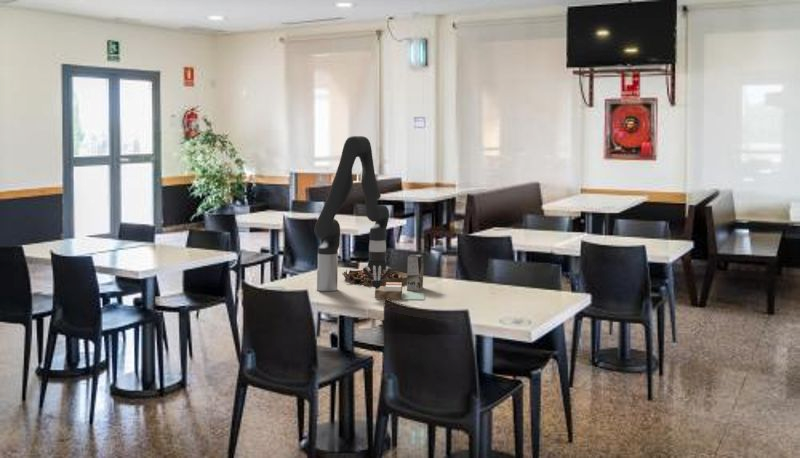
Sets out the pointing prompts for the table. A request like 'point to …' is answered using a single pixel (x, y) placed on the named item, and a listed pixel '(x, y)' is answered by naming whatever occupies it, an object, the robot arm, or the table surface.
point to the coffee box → (415, 272)
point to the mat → (413, 296)
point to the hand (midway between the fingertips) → (377, 288)
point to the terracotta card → (393, 283)
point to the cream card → (393, 287)
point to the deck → (387, 293)
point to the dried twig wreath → (364, 279)
